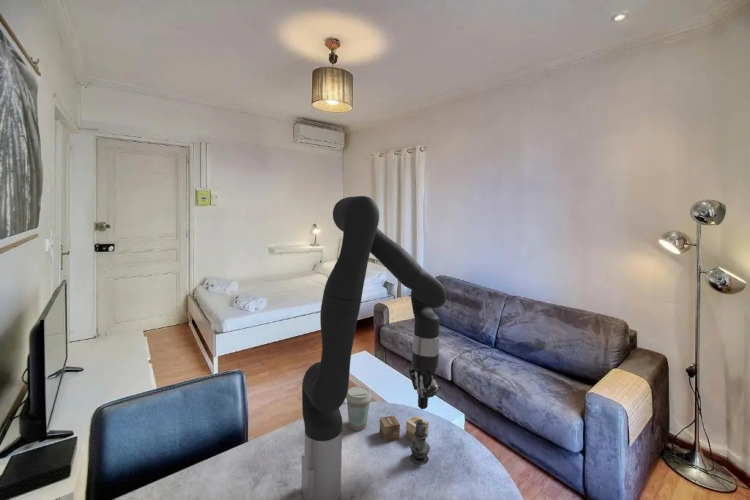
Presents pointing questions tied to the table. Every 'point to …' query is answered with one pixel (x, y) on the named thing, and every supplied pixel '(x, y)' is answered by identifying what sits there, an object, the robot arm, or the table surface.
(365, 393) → the coffee cup
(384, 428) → the walnut block digit
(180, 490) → the table surface
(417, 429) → the black chess piece
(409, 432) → the beech block digit
